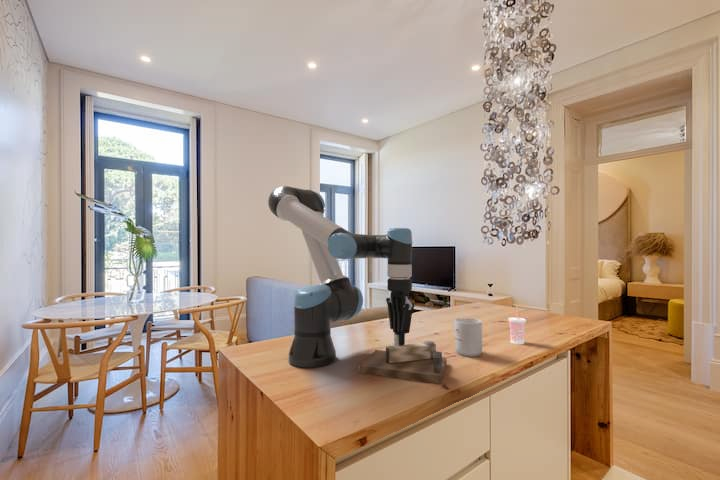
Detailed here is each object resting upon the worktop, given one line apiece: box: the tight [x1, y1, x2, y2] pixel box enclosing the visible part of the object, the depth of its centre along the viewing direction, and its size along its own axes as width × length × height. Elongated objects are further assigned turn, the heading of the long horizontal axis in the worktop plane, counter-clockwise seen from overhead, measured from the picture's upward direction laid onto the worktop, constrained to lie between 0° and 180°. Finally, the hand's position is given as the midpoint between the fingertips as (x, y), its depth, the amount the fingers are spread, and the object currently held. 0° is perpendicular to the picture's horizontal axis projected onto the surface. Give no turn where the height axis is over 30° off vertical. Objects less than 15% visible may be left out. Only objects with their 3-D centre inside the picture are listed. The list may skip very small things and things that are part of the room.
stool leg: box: [385, 340, 437, 363], centre depth 101 cm, size 16×3×4 cm, turn 108°
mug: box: [453, 317, 483, 358], centre depth 115 cm, size 12×9×11 cm
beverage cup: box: [507, 305, 527, 345], centre depth 127 cm, size 6×6×14 cm
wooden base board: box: [358, 349, 448, 384], centre depth 99 cm, size 23×16×6 cm
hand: (399, 354), depth 102 cm, fingers closed
